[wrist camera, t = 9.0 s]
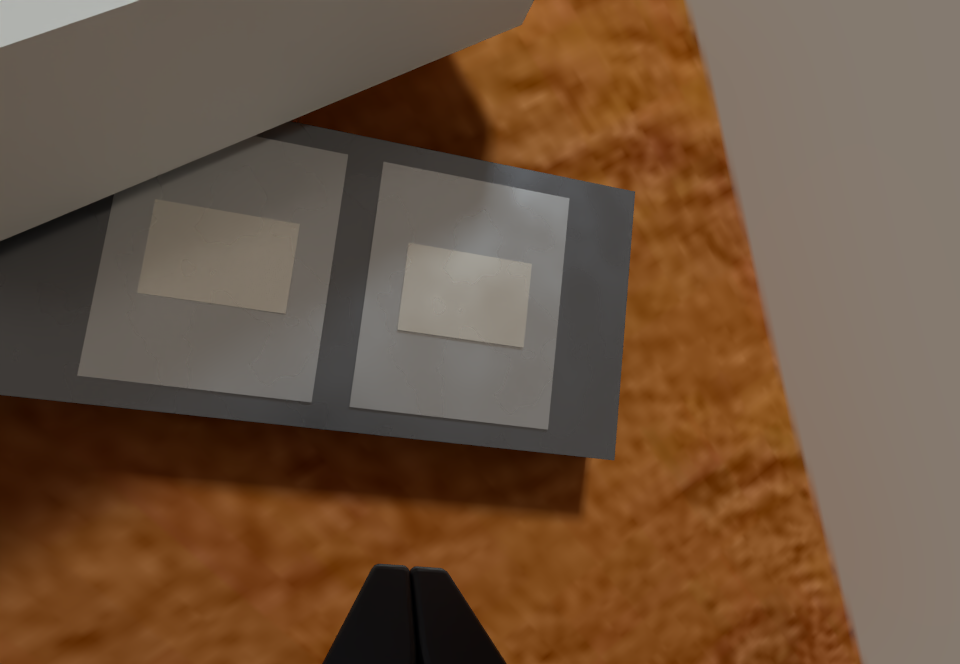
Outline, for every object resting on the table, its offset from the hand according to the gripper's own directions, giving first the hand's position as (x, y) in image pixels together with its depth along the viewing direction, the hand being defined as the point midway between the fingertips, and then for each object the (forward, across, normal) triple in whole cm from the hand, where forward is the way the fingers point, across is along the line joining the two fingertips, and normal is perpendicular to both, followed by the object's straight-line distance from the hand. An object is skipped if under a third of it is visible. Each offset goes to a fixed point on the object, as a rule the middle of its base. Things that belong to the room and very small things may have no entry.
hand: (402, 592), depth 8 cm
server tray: (+17, +4, +3) cm, 18 cm away
